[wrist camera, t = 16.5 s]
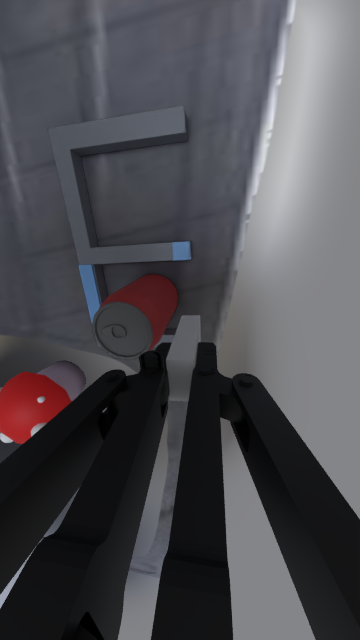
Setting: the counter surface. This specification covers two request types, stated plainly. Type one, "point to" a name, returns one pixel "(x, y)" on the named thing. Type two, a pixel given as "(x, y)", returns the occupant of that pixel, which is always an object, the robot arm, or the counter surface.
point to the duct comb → (67, 154)
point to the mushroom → (37, 399)
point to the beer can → (135, 316)
